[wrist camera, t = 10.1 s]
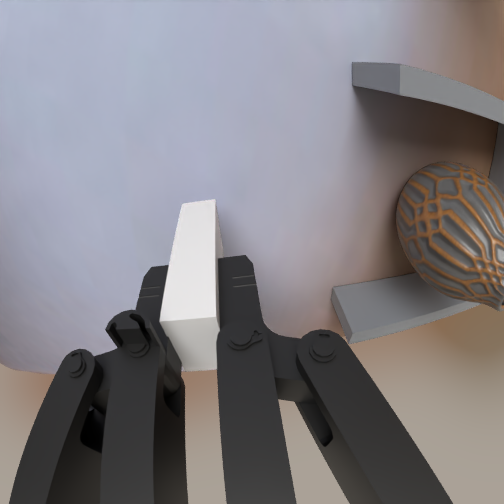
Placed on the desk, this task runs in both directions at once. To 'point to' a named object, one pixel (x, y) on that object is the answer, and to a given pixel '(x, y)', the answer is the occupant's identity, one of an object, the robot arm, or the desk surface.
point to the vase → (455, 232)
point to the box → (412, 285)
